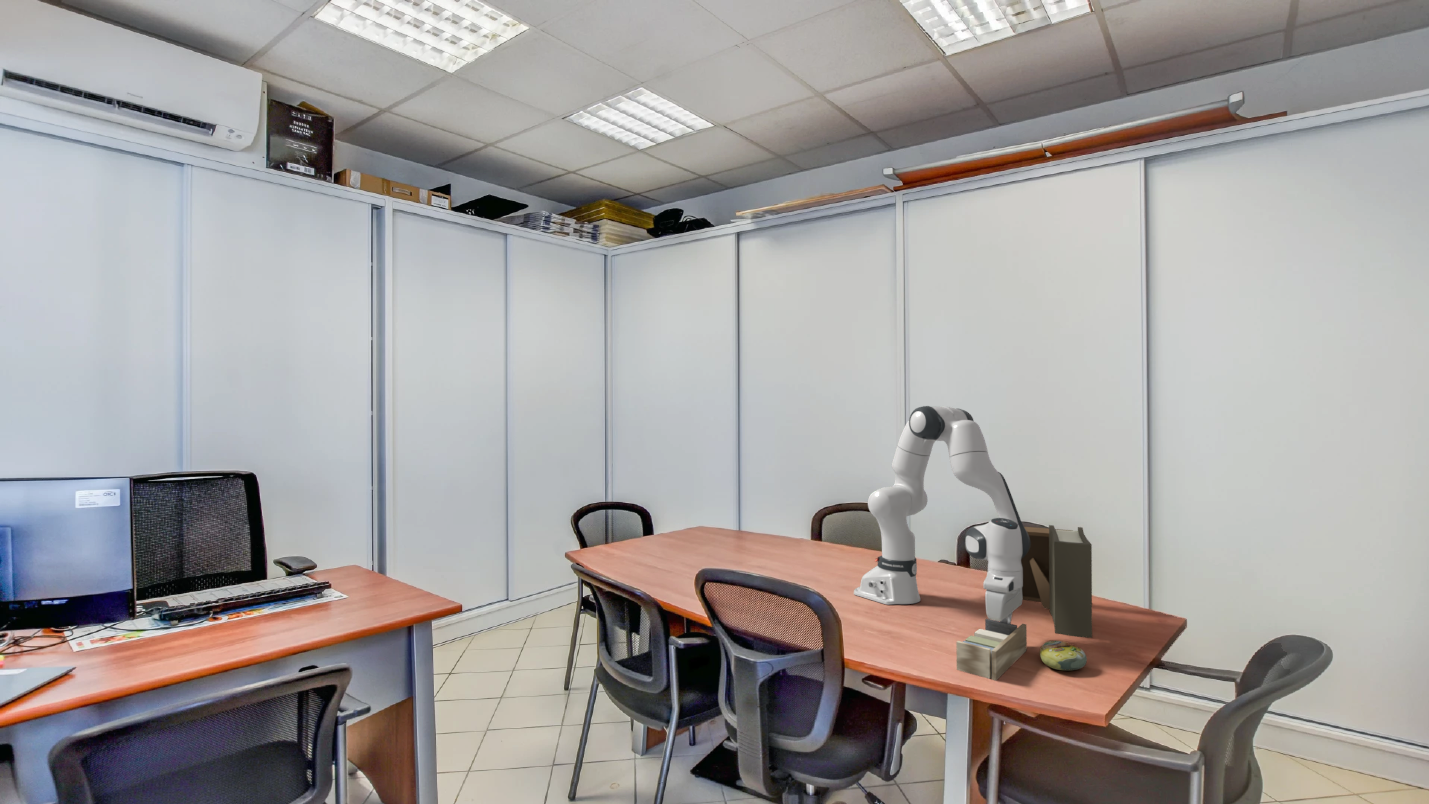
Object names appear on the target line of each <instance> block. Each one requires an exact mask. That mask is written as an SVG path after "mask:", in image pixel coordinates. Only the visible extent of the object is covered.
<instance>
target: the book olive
mask: <svg viewBox="0 0 1429 804" xmlns="http://www.w3.org/2000/svg"><path fill="white" fill-rule="evenodd" d="M964 641H967V642H971V643H975V644H979V645H983V646H987V647H991V648H995V647H996V646H997V645H999V644H1000V643H1001V642H997V641H992V640H988V639H984V638H980V637H976V636H974V635H969V636H968V637H967V638H965V639H964Z"/></svg>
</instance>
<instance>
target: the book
mask: <svg viewBox="0 0 1429 804" xmlns="http://www.w3.org/2000/svg"><path fill="white" fill-rule="evenodd" d="M1048 529H1049V601H1050V609H1049V613H1050V615H1051V617H1052V621H1053V625H1054V633H1055V634H1058V635H1063V636H1069V637H1077V638H1087V639H1089V638H1090V639H1091V638H1093V590H1092V589H1093V581H1092V580H1093V579H1092V578H1093V577H1092V576H1093V567H1092V566H1093V563H1092V561H1093V560H1092V558H1093V557H1092V556H1093V555H1092V552H1093V551H1092V550H1093V549H1092V548H1093V547H1092V545H1093V544H1092V543H1091V541H1089V539H1088V538H1087V537H1086V535H1085V533H1084V528H1083V527H1081V526H1078V527H1077V530H1073V531H1067V530H1068V529H1062V530H1056V529H1057V528H1055V526H1054V525H1051V524H1048Z"/></svg>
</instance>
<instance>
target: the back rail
mask: <svg viewBox="0 0 1429 804" xmlns="http://www.w3.org/2000/svg"><path fill="white" fill-rule="evenodd" d="M1027 637H1028V635H1027V624H1026V623H1021V624H1020V625H1019V626H1017V629H1016V630H1015V631H1013V632H1012V633H1011V634H1010V635H1009V636H1008V637H1007V638H1005V639H1004V640H1003V641H1002V642H1001V643H1000V644H999V645H997V646H996V647H995V648H994V649H993V650H992V677H991V649H989V648H985V647H981V646H977V645H973V644H969V643H965V642H963V641H961V640H956V670H957V671H959V672H964V673H967V674H971V675H974V676H979V677H982V678H986V679H988V680H990V679H991V680H992V681H996V682H997V680H998V679H999V678H1000V677H1002V675H1004V673H1005V672H1007V671H1008V670H1009V669H1010V668H1011V667H1012V666H1013V665H1014V664H1015V662H1017V660H1018V659H1020V657H1022V656H1023V655H1024V654H1025V653H1026V651H1027V649H1028V648H1027V647H1028V645H1027V642H1028V641H1027Z"/></svg>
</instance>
